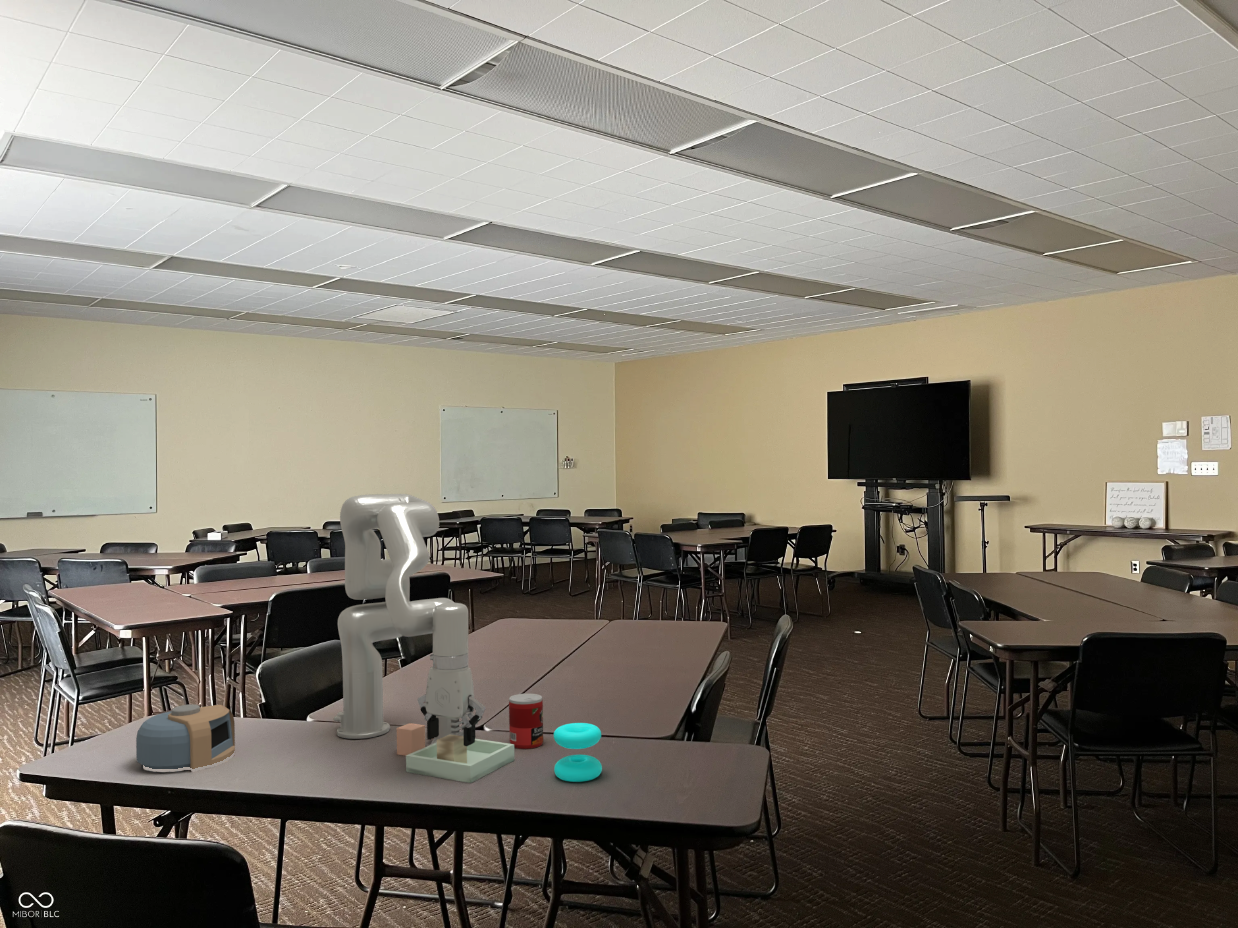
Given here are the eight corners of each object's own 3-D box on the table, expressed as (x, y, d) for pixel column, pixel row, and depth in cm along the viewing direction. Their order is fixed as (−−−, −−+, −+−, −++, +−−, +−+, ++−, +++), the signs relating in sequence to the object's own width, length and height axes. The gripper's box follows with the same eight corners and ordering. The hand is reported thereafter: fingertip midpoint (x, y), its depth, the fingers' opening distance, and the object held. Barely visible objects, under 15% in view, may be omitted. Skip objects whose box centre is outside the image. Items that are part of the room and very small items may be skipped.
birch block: (437, 768, 188) (436, 739, 188) (450, 761, 192) (449, 734, 192) (454, 770, 186) (453, 742, 186) (467, 764, 190) (466, 736, 190)
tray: (406, 771, 189) (406, 755, 189) (452, 750, 203) (452, 735, 203) (470, 782, 181) (470, 765, 181) (514, 760, 195) (514, 744, 195)
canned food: (538, 749, 202) (537, 701, 203) (505, 748, 204) (504, 700, 204) (547, 740, 210) (546, 693, 210) (515, 738, 212) (514, 692, 212)
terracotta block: (397, 754, 201) (396, 728, 201) (410, 748, 205) (409, 722, 205) (412, 756, 199) (411, 730, 199) (425, 751, 203) (424, 725, 203)
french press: (423, 744, 208) (421, 638, 208) (450, 731, 219) (448, 630, 219) (458, 748, 204) (456, 640, 205) (484, 734, 215) (482, 632, 216)
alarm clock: (207, 774, 190) (206, 718, 190) (117, 774, 191) (116, 718, 191) (249, 747, 209) (248, 696, 209) (167, 747, 210) (166, 696, 210)
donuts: (571, 718, 192) (610, 724, 186) (572, 765, 191) (611, 772, 186) (543, 730, 183) (583, 737, 178) (544, 778, 183) (584, 786, 178)
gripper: (407, 660, 190) (407, 740, 190) (472, 669, 182) (473, 752, 182) (430, 654, 197) (430, 730, 197) (494, 662, 189) (494, 741, 189)
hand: (451, 740), depth 189 cm, fingers open, 9 cm apart
